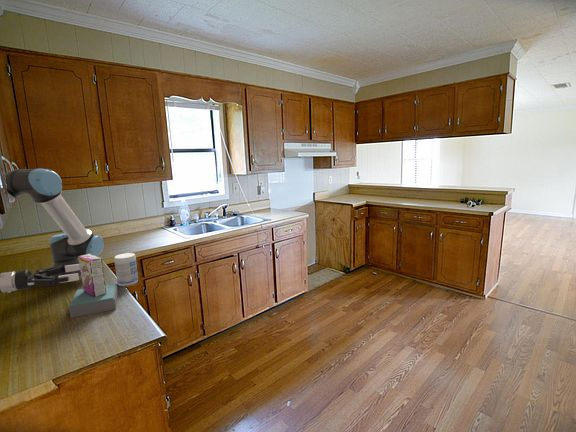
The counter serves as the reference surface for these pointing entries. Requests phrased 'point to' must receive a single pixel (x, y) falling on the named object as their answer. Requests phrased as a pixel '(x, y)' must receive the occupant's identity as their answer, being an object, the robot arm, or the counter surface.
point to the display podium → (93, 302)
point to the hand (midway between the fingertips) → (81, 271)
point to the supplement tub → (126, 269)
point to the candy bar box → (92, 275)
